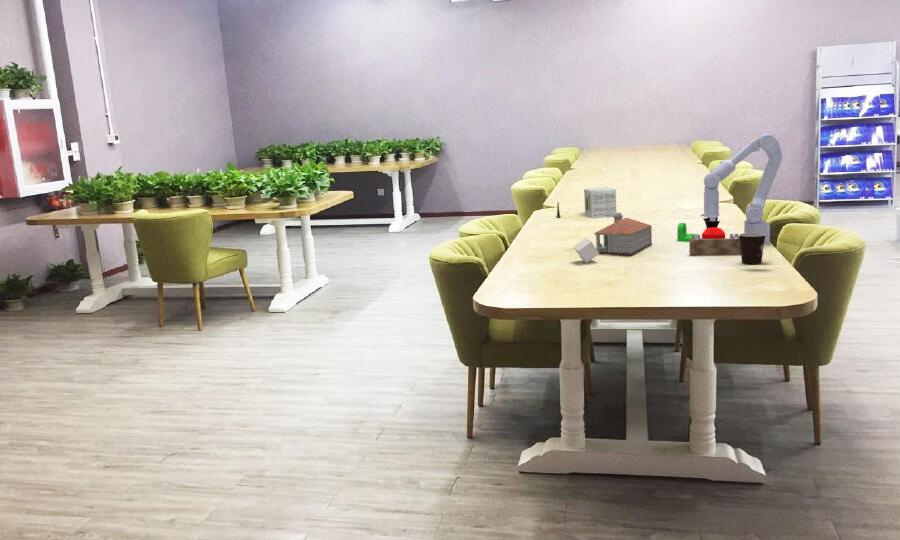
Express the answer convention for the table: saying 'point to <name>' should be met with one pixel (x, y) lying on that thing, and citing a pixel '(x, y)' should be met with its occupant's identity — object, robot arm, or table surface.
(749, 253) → the coffee mug
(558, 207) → the eiffel tower figurine
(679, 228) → the mechanical part
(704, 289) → the table surface
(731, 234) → the grey round piece
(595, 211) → the supplement box
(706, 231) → the red black angular block
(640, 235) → the model house
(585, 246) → the light grey cube
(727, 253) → the backstop
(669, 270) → the table surface
